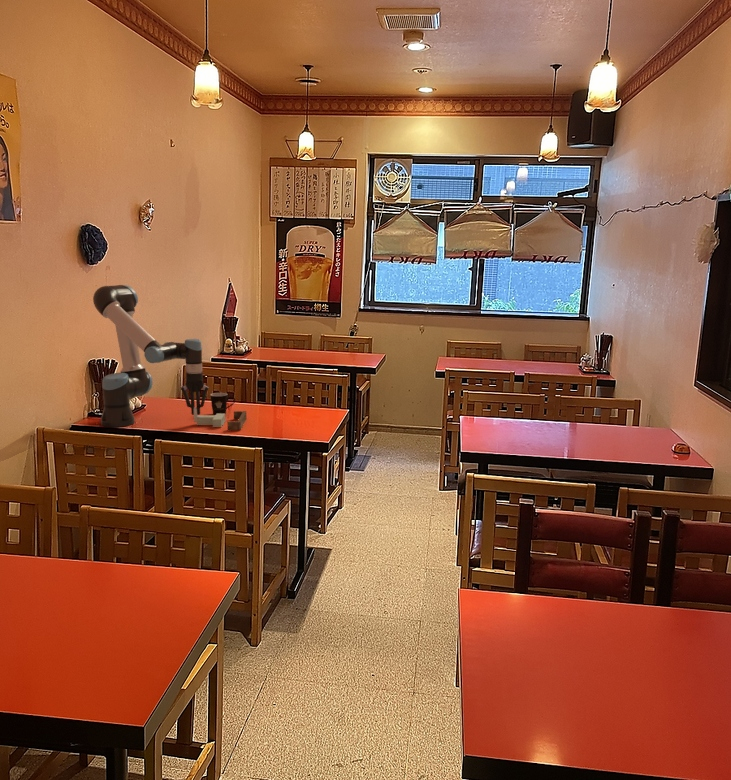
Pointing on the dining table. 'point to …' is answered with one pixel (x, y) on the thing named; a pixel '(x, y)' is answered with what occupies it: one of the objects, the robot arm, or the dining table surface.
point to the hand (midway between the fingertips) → (196, 421)
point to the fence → (236, 424)
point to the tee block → (211, 420)
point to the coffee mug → (220, 402)
